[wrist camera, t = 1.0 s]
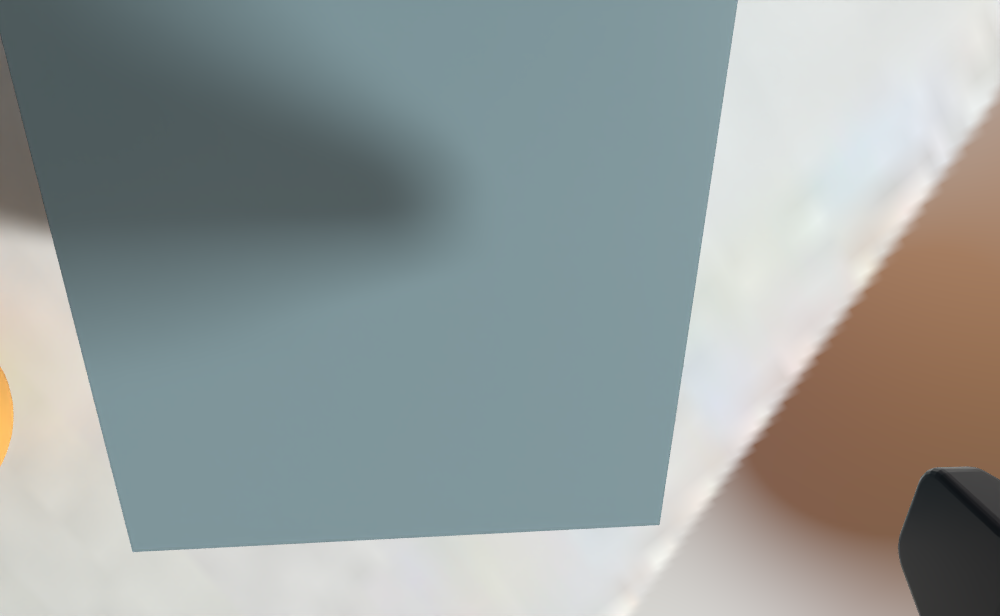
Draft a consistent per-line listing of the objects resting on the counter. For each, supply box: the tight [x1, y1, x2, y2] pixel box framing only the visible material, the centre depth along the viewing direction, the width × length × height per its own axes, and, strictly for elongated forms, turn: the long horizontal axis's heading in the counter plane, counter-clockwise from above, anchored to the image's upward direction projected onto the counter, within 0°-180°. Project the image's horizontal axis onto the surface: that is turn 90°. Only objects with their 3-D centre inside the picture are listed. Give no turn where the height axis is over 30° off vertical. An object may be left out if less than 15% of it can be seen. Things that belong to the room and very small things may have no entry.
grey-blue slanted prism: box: [0, 0, 738, 552], centre depth 15 cm, size 8×8×9 cm
